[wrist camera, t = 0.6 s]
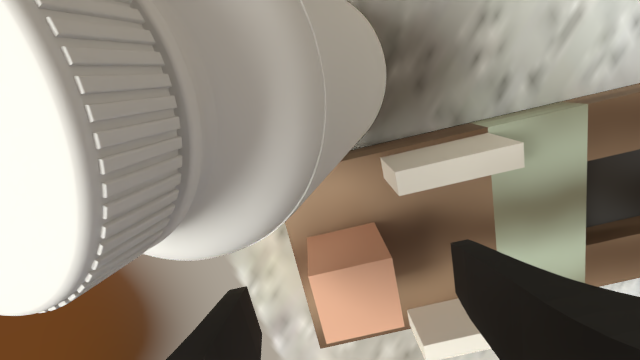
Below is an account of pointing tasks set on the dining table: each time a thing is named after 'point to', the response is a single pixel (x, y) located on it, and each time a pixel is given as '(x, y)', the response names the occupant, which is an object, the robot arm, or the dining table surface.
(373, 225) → the block
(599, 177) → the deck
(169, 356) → the robot arm
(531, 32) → the dining table surface
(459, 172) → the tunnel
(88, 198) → the pill bottle
